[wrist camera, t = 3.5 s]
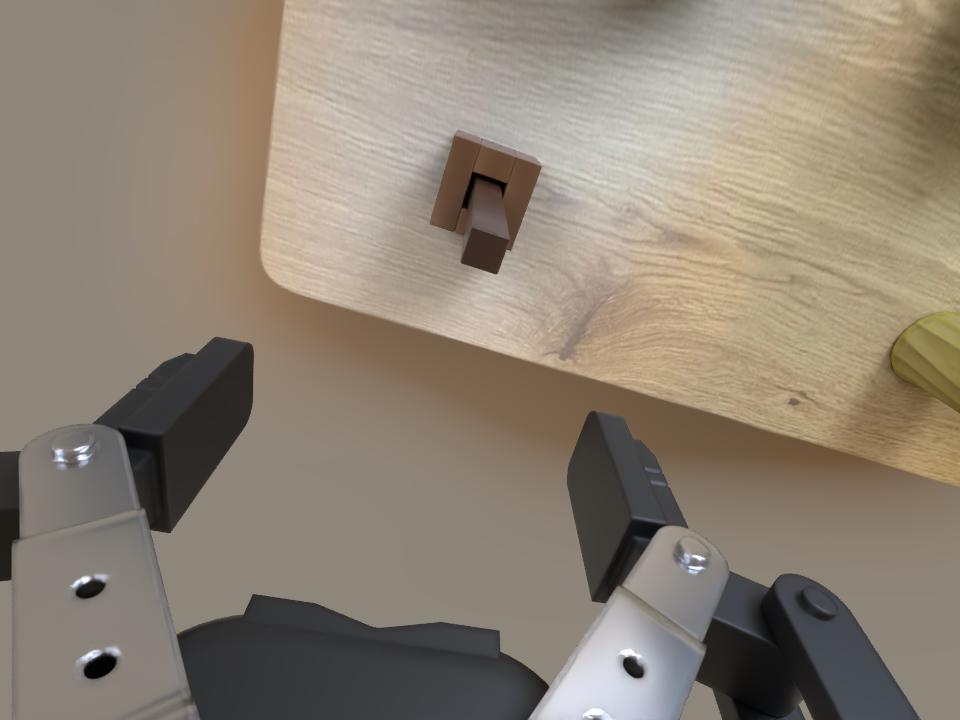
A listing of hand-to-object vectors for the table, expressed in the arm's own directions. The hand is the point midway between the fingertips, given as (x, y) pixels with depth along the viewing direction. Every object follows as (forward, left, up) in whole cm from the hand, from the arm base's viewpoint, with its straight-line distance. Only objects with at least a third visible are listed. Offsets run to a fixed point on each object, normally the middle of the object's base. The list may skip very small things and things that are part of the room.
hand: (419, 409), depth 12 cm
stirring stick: (+1, +1, -26) cm, 26 cm away
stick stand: (+1, +1, -26) cm, 26 cm away
